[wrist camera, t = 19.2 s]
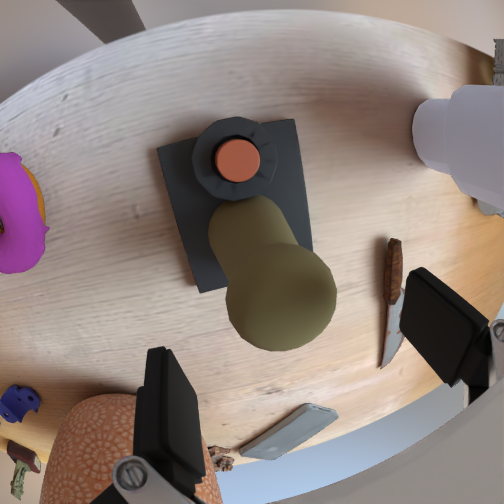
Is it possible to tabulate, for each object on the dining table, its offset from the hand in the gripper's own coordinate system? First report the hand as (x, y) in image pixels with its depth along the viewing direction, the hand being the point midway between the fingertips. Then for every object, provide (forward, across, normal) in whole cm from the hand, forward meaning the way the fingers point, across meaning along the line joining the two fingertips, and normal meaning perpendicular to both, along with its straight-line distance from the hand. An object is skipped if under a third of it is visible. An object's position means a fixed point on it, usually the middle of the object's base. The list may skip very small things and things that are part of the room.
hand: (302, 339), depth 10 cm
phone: (+12, 0, +36) cm, 38 cm away
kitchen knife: (+14, -16, +16) cm, 26 cm away
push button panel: (+14, 0, -1) cm, 14 cm away
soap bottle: (+14, -21, -5) cm, 26 cm away
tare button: (+11, 0, -5) cm, 12 cm away
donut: (+14, +19, -7) cm, 25 cm away
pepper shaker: (+13, 0, +1) cm, 13 cm away
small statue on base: (+14, +64, +40) cm, 76 cm away
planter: (+14, +20, +23) cm, 33 cm away
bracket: (+11, +38, +16) cm, 43 cm away
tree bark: (+14, +12, +36) cm, 41 cm away
